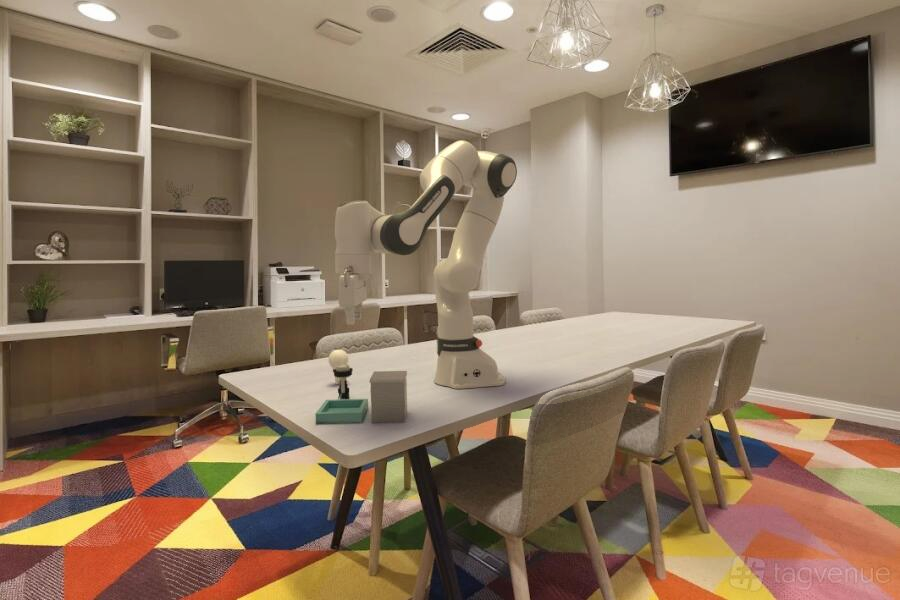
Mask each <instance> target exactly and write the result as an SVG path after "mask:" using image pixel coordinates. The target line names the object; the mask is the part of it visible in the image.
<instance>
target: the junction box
mask: <svg viewBox="0 0 900 600" xmlns="http://www.w3.org/2000/svg"><path fill="white" fill-rule="evenodd" d="M407 375H408V370H384V371H383V370H381V371H380V370H378V371H377V370H376V371H373V373H372V375H371V377H370V379H369V384H370V391H369V392H370V403H371V406H370V407H371V423H372V424H376V423H375V422H394V423H406V420H407V419H406V418H407V416H408V415H407V414H408V395H407V394H408V389H407V386H408V383H407Z"/></svg>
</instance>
